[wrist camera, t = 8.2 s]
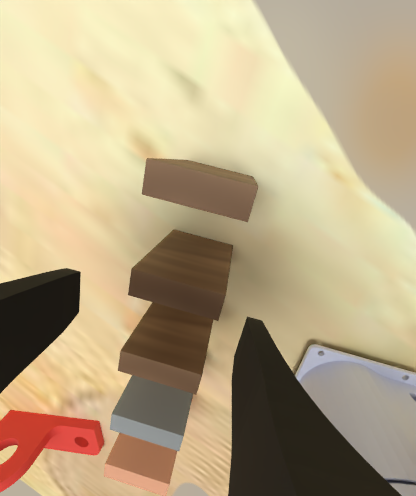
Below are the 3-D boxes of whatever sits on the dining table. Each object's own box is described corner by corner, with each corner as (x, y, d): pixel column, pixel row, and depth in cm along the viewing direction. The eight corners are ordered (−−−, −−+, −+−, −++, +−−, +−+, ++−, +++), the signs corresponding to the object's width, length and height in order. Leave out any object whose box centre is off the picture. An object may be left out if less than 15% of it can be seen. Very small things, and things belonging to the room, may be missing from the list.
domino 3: (145, 376, 26) (105, 463, 18) (191, 390, 26) (169, 484, 18) (143, 387, 26) (103, 476, 19) (188, 401, 26) (165, 496, 19)
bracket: (21, 434, 33) (-45, 514, 25) (11, 409, 31) (-62, 486, 24) (105, 446, 31) (61, 535, 23) (99, 420, 29) (50, 506, 22)
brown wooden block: (186, 160, 18) (146, 158, 11) (252, 176, 18) (258, 186, 10) (182, 181, 19) (141, 194, 11) (246, 198, 19) (247, 221, 11)
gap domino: (153, 335, 24) (111, 413, 16) (203, 349, 24) (183, 436, 16) (151, 348, 25) (109, 429, 17) (199, 362, 24) (179, 451, 17)
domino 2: (162, 286, 22) (120, 350, 15) (216, 302, 22) (201, 375, 14) (159, 301, 23) (118, 370, 15) (212, 317, 22) (196, 394, 15)
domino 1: (173, 229, 20) (131, 268, 13) (233, 245, 20) (225, 295, 12) (170, 247, 21) (128, 294, 13) (228, 263, 20) (218, 320, 13)
